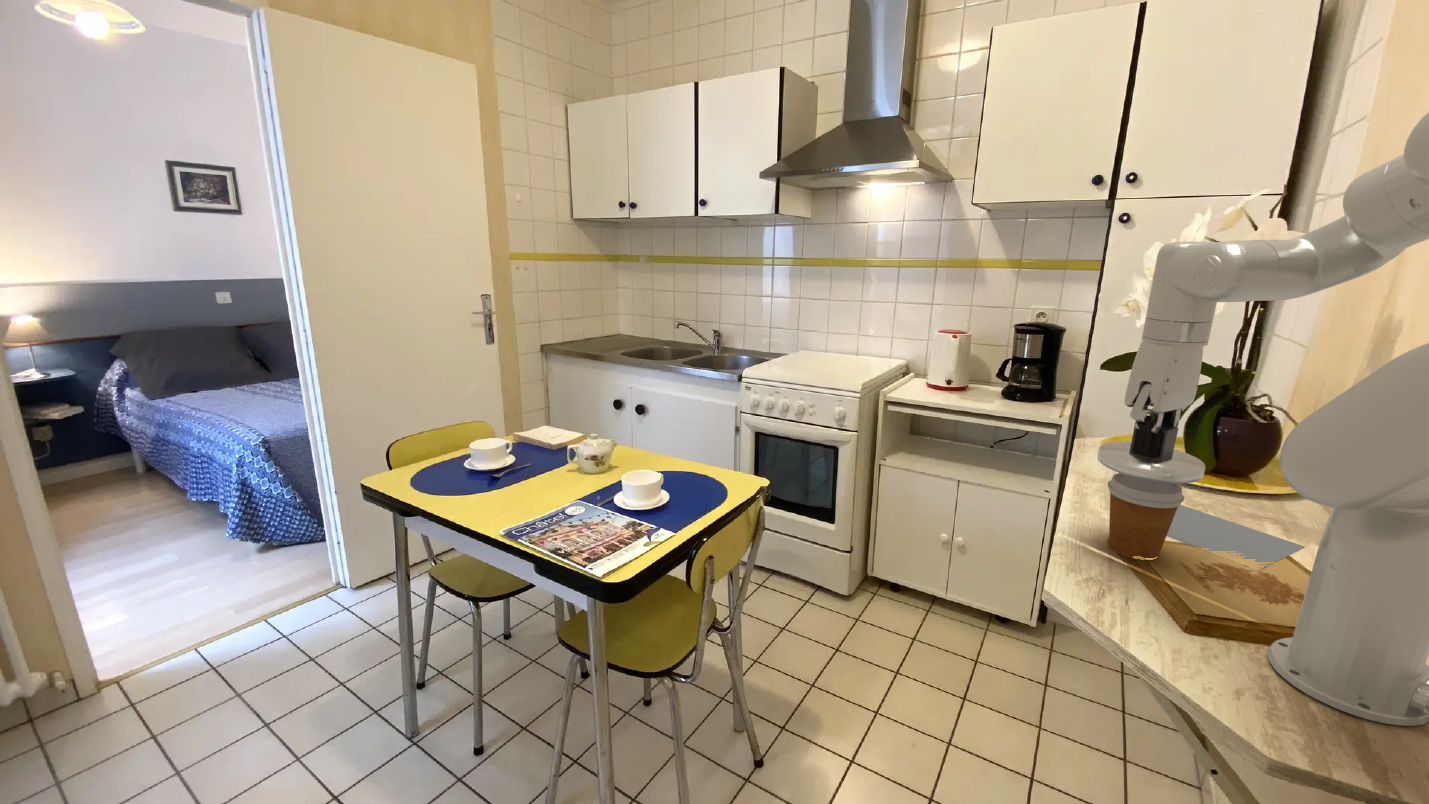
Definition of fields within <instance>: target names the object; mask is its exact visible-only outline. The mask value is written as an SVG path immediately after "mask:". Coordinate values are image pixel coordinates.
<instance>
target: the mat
mask: <svg viewBox="0 0 1429 804" xmlns="http://www.w3.org/2000/svg"><path fill="white" fill-rule="evenodd" d="M1166 538H1170V539H1173V540H1176V541H1178V542H1180V543H1183V544H1185V545H1188V546H1191V545H1192V547H1194V546H1198V547H1199V546H1200V547H1199V548H1205V549H1206V548H1208V549H1211V550H1208V551H1237V552H1235V553H1243V555H1242V554H1240V556H1246V557H1243V559H1256V560H1255V562H1261V563H1262V562H1276V563H1277V562H1279V561H1282V560H1283V559H1285V558H1286V557H1289V556H1291V555H1293V554H1295V553H1297V552H1298V551H1300V550H1302V549H1304V548H1306V546H1305V545H1302V544H1300V543H1296V542H1293V541H1290V540H1287V539H1284V538H1282V537H1281V538H1280V537H1278V536H1275V535H1272V534H1269V533H1265V532H1263V531H1260V530H1256V529H1254V528H1251V527H1248V526H1245V525H1243V524H1240V523H1236V522H1233V521H1230V520H1227V519H1225V518H1222V517H1218V516H1215V515H1213V514H1210V513H1206V512H1203V511H1200V510H1197V509H1194V508H1191V507H1188V506H1185V505H1184V504H1183V505H1182V504H1180V505H1179V506H1178V508H1177V511H1176V513H1175V516H1174V518H1173V521H1172V523H1171V526H1170V528H1169V531H1168V533H1167V536H1166ZM1193 545H1194V546H1193ZM1199 548H1198V549H1199ZM1204 552H1207V550H1205V551H1204ZM1217 553H1218V552H1217ZM1227 553H1228V552H1227ZM1229 553H1231V552H1229ZM1232 553H1233V552H1232ZM1235 556H1236V555H1235ZM1237 556H1239V554H1238V555H1237ZM1241 558H1242V557H1241ZM1257 559H1258V560H1257ZM1271 564H1272V565H1274V564H1273V563H1269V564H1268V563H1266V564H1259V565H1270V566H1272V565H1271ZM1264 567H1265V566H1264ZM1258 568H1259V567H1258ZM1261 568H1262V567H1261Z"/></svg>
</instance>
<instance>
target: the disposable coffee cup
mask: <svg viewBox="0 0 1429 804" xmlns="http://www.w3.org/2000/svg"><path fill="white" fill-rule="evenodd" d="M1107 487H1108V491H1109V531H1108V532H1109V533H1108V535H1109V536H1108V546H1109V549H1110V550H1112V551H1113V552H1114V553H1116V554H1118V555H1120V556H1123V557H1124V558H1129V559H1131V557H1133V556H1141V557H1144V558H1155V557H1157V556H1158V557H1159V556H1160V554H1161V551H1162V548H1163V545H1164V544H1165V541H1166V539H1167V533H1168V531H1169V528H1170V526H1171V523H1172V521H1173V518H1174V516H1175V513H1176V511H1177V508H1178V506H1179V505H1182V503H1183V502H1184V501H1185V495H1183V488H1182V486H1180V485H1179V483H1164V482H1156V481H1150V480H1144V479H1140V478H1135V477H1132V476H1128V475H1125V474H1122V473H1119V472H1117V473H1114V475H1112V478H1111V479H1110V480H1109V481H1108V482H1107Z"/></svg>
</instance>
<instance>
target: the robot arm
mask: <svg viewBox="0 0 1429 804" xmlns="http://www.w3.org/2000/svg"><path fill="white" fill-rule="evenodd" d="M1342 207H1343V208H1342V210H1343V213H1344V215H1343V216H1341V217H1339V218H1338V219H1335V220H1334V221H1332V222H1329V223H1328V224H1325V225H1323V226H1321V227H1319V228H1316V229H1314V230H1311V231H1309V232H1307V233H1305V234H1301V235H1300V236H1296V237H1294V238H1291V239H1253V240H1252V239H1251V240H1228V241H1217V242H1216V241H1175V242H1169V243H1165V244H1164V245H1162V246H1161V247H1160V249H1159V250H1158V253H1157V256H1156V259H1155V260H1156V261H1155V265H1154V271H1153V277H1152V282H1151V287H1150V293H1149V298H1148V303H1147V308H1146V314H1145V319H1144V326H1143V330H1142V335H1141V342H1140V344H1139V347H1138V348H1137V352H1136V355H1135V358H1134V360H1133V364H1132V367H1131V371H1130V374H1129V378H1128V382H1127V387H1126V391H1125V394H1124V395H1125V396H1124V402H1123V403H1124V406H1126V407H1127V408H1131V411H1130V414H1129V417H1130V418H1131V419H1132V420H1134V421H1135V422H1136V424H1135V423H1134V426H1135V428H1136V434H1135V439H1134V444H1133V449H1132V452H1133V453H1134V454H1138V455H1141V456H1144V457H1148V458H1151V459H1155V458H1157V456H1158V452H1159V447H1160V442H1161V437H1162V433H1160V432H1159V431H1160V427H1161V424H1166V425H1170V426H1174V427H1178V428H1179V425H1180V418H1181V416H1182V414H1183V413H1184V410H1186V409H1187V408H1188V407H1189V406H1190V405H1192V404H1193V403H1194V401H1195V398H1196V395H1197V391H1198V388H1199V387H1198V386H1199V384H1200V383H1199V382H1200V378H1201V377H1200V376H1201V370H1202V362H1203V356H1204V355H1203V354H1204V347H1207V346H1208V344H1209V340H1210V335H1211V331H1212V326H1213V322H1214V319H1215V318H1214V316H1215V313H1216V309H1217V303H1241V302H1242V303H1245V302H1246V303H1247V302H1257V301H1258V302H1262V301H1265V302H1266V301H1272V302H1274V301H1287V300H1293V299H1299V298H1301V297H1303V298H1304V297H1305V296H1309V295H1312V294H1316V293H1319V292H1320V291H1321V292H1322V291H1324V290H1326V289H1330V288H1332V287H1336V286H1339V285H1341V284H1344V283H1347V282H1350V281H1352V280H1355V279H1358V278H1361V277H1362V276H1364V275H1368V274H1370V273H1372V272H1374V271H1376V270H1378V269H1380V268H1381V267H1383V266H1385V265H1386V264H1387V263H1389V262H1390V261H1392V260H1394V259H1395V258H1397V257H1398V256H1400V254H1402V253H1403V252H1404V251H1405V249H1407V248H1410V247H1412V246H1414V245H1416V244H1417V245H1418V244H1419V243H1421V242H1424V241H1427V240H1429V111H1428V112H1427V113H1425V114H1424V115H1423V116H1422V117H1421V119H1420V120H1419V121H1418V122H1417V124H1416V125H1414V127H1413V128H1412V130H1411V132H1410V134H1409V135H1408V137H1407V139H1406V143H1405V146H1404V149H1403V154H1401V155H1399V156H1397V157H1395V158H1393V159H1391V160H1389V161H1387V162H1385V163H1382V164H1380V165H1378V166H1377V167H1374V168H1373V169H1370V170H1368V171H1366V172H1363V173H1362V174H1361V175H1358V177H1356V178H1355V179H1354V180H1353V181H1351V183H1349V184H1348V185H1347V188H1346V190H1345V192H1344V194H1343V198H1342ZM1149 407H1152V408H1149ZM1153 416H1154V419H1153ZM1279 455H1280V457H1279V466H1280V470H1281V473H1282V476H1283V477H1284V480H1285V481H1286V482H1287V483H1288V485H1289V486H1290V487H1291V488H1292V489H1293V490H1294V491H1295V492H1296V493H1297V494H1299V495H1300V496H1301V497H1302V498H1305V499H1306V500H1308V501H1310V502H1313V503H1315V504H1318V505H1320V506H1324V507H1327V508H1332V510H1331V512H1330V514H1329V517H1328V519H1327V521H1326V523H1325V527H1324V528H1323V532H1322V534H1321V535H1322V536H1321V539H1320V541H1319V545H1318V548H1317V551H1316V555H1315V557H1314V561H1313V566H1312V569H1311V573H1310V575H1309V579H1308V582H1307V586H1306V589H1305V592H1304V596H1303V601H1302V604H1301V607H1300V610H1299V614H1298V617H1297V620H1296V624H1295V627H1294V628H1295V629H1294V631H1293V635H1292V636H1291V637H1283V638H1280V639H1277V640H1274V642H1272V643H1271V644H1270V647H1269V649H1268V650H1269V651H1268V653H1267V654H1268V660H1269V663H1270V664H1271V666H1272V667H1273V669H1274V670H1275V672H1277V673H1278V674H1279V675H1280V676H1281V677H1282V678H1283V679H1284V680H1285V681H1287V682H1288V683H1290V684H1291V685H1292V686H1293V687H1295V688H1296V689H1298V690H1300V691H1301V692H1303V693H1304V694H1306V695H1308V696H1310V697H1311V698H1313V699H1315V700H1317V701H1319V702H1321V703H1323V704H1326V705H1328V706H1330V707H1332V708H1334V709H1335V710H1336V709H1337V710H1338V711H1341V712H1343V713H1344V712H1345V713H1347V714H1349V715H1352V716H1355V717H1359V718H1362V719H1365V720H1368V721H1372V722H1376V723H1381V724H1384V725H1385V724H1386V725H1393V726H1403V727H1404V726H1407V727H1413V726H1419V725H1420V726H1421V725H1424V724H1426V723H1428V722H1429V665H1428V664H1426V662H1427V659H1428V656H1429V342H1428V343H1424V344H1422V345H1419V346H1417V347H1416V348H1415V347H1414V348H1413V349H1411V350H1408V351H1406V352H1404V353H1403V354H1400V355H1398V356H1397V357H1395V358H1393V359H1391V360H1389V362H1387V363H1385V364H1384V365H1382V366H1380V367H1379V368H1377V369H1375V371H1373V372H1372V373H1370V374H1369V375H1367V376H1365V377H1364V378H1363V379H1361V380H1360V381H1358V382H1357V383H1355V384H1354V385H1352V386H1351V387H1349V388H1347V389H1346V390H1344V392H1342V393H1340V394H1339V395H1337V396H1336V397H1334V398H1333V399H1332V400H1330V401H1328V402H1327V403H1326V404H1324V405H1322V406H1321V407H1320V408H1318V409H1317V410H1315V411H1314V412H1312V413H1311V414H1309V415H1308V416H1307V417H1305V418H1304V419H1302V420H1301V421H1300V422H1299V423H1298V424H1297V425H1295V426H1294V428H1293V429H1292V430H1291V431H1290V432H1289V434H1287V436H1286V437H1285V440H1284V441H1283V444H1282V447H1281V450H1280V454H1279Z"/></svg>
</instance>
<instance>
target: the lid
mask: <svg viewBox="0 0 1429 804" xmlns="http://www.w3.org/2000/svg"><path fill="white" fill-rule="evenodd" d="M1135 424H1136V421H1135V422H1134V428H1133V433H1132V437H1131V441H1130V442H1129V441H1115V442H1114V441H1113V442H1107V443H1103V444H1101V445H1100V446H1099V448H1098V452H1097V461H1098V462H1099V463H1100V464H1101V465H1103V466H1104V467H1105V468H1108V469H1110V470H1111V471H1114V472H1117V473H1122V474H1125V475H1128V476H1132V477H1135V478H1140V479H1144V480H1150V481H1156V482H1164V483H1176V484H1191V483H1192V484H1193V483H1196V482H1199V481H1201V480H1202V479H1203V478H1204V476H1205V475H1204V474H1205V472H1206V471H1205V470H1206V464H1205V463H1204V462H1203V461H1202V460H1201V459H1200V458H1198V457H1196V456H1194V455H1192V454H1190V453H1186V452H1184V451H1182V450H1177V449H1175V446H1176V441H1177V436H1178V432H1179V426H1178V427H1174V426H1170V425H1166V424H1161V427H1160V431H1159V432H1160V433H1162V437H1161V442H1160V447H1159V452H1158V456H1157V458H1155V459H1151V458H1148V457H1144V456H1141V455H1138V454H1134V453H1133V452H1132V449H1133V444H1134V439H1135V434H1136V428H1135Z"/></svg>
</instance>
